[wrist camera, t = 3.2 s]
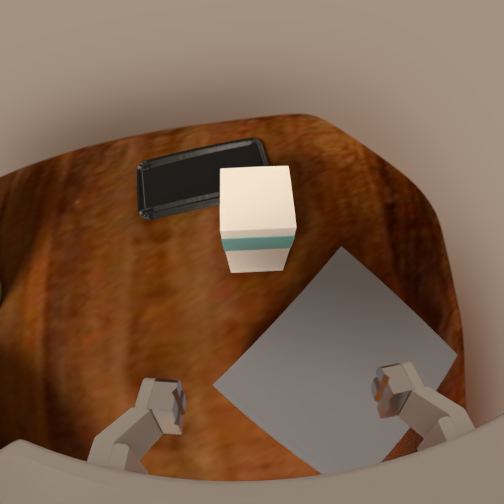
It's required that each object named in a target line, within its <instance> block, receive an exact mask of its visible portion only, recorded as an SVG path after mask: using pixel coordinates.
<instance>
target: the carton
mask: <svg viewBox="0 0 504 504" xmlns="http://www.w3.org/2000/svg"><path fill="white" fill-rule="evenodd" d="M296 228H297V226H296V218H295V209H294V201H293V193H292V186H291V178H290V171H289V166H261V167H238V168H221V169H220V233H221V240H222V244H223V248H224V251H225V252H226V256H227V259H228V263H229V267H230V271H231V273H239V272H261V271H280V270H283V269H284V266H285V262H286V259H287V256H288V253H289V250H290V248H291V247H292V244H293V241H294V238H295V232H296Z"/></svg>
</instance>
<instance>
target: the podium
mask: <svg viewBox="0 0 504 504" xmlns="http://www.w3.org/2000/svg"><path fill="white" fill-rule="evenodd" d="M456 357H457V354H456V353H455V352H454V351H453V350H452V349H451V348H450V347H449V346H448V345H447V344H446V343H445V342H444V341H443V340H442V339H441V338H440V337H439V336H438V335H437V334H436V333H435V332H434V331H433V330H432V329H431V328H430V327H429V326H428V325H427V324H426V323H425V322H424V321H423V320H422V319H421V318H420V317H419V316H418V315H417V314H416V313H415V312H414V311H413V310H412V309H411V308H410V307H409V306H407V305H406V304H405V303H404V302H403V301H402V300H401V299H400V298H399V297H398V296H397V295H396V294H395V293H394V292H393V291H391V290H390V289H389V288H388V287H387V286H386V285H385V284H384V283H383V282H382V281H380V280H379V279H378V278H377V277H376V276H375V275H374V274H373V273H372V272H370V271H369V270H368V269H367V268H366V267H365V266H364V265H363V264H361V263H360V262H359V261H358V260H357V259H356V258H355V257H353V256H352V255H351V254H350V253H349V252H348V251H347V250H345V249H344V248H343V247H342V246H341V247H340V248H339V249H338V250H337V252H336V253H335V254H334V255H333V256H332V258H331V259H330V260H329V261H328V262H327V263H326V265H325V266H324V267H323V268H322V269H321V270H320V272H319V273H318V274H317V275H316V276H315V277H314V278H313V280H312V281H311V282H310V283H309V284H308V285H307V286H306V288H305V289H304V290H303V291H302V292H301V293H300V294H299V295H298V296H297V298H296V299H295V300H294V301H293V302H292V303H291V304H290V305H289V306H288V308H287V309H286V310H285V311H284V312H283V313H282V314H281V315H280V316H279V317H278V318H277V319H276V321H275V322H274V323H273V324H272V325H271V326H270V327H269V328H268V329H267V330H266V331H265V332H264V333H263V334H262V335H261V336H260V338H259V339H258V340H257V341H256V342H255V343H254V344H253V345H252V346H251V347H250V348H249V349H248V350H247V351H246V352H245V353H244V354H243V355H242V356H241V357H240V358H239V359H238V360H237V361H236V362H235V363H234V364H233V365H232V366H231V367H230V368H229V369H228V370H227V371H226V372H225V373H224V374H223V375H222V376H221V377H220V378H219V379H218V380H217V381H216V382H215V383H214V384H213V386H214V387H215V388H216V389H217V390H218V391H220V392H221V393H222V394H223V395H224V396H225V397H226V398H227V399H228V400H229V401H230V402H232V403H233V404H234V405H235V406H236V407H237V408H238V409H239V410H241V411H242V412H243V413H244V414H245V415H246V416H248V417H249V418H250V419H251V420H252V421H253V422H255V423H256V424H257V425H258V426H259V427H261V428H262V429H263V430H264V431H265V432H267V433H268V434H269V435H270V436H272V437H273V438H274V439H275V440H277V441H278V442H279V443H281V444H282V445H283V446H284V447H286V448H287V449H288V450H290V451H291V452H292V453H294V454H295V455H296V456H298V457H299V458H300V459H302V460H303V461H305V462H306V463H307V464H309V465H310V466H312V467H313V468H314V469H316V470H317V471H319V472H320V473H322V474H323V475H324V474H330V473H336V472H341V471H347V470H352V469H356V468H361V467H365V466H370V465H374V464H378V463H381V462H382V460H383V459H384V458H385V457H386V456H387V455H388V454H389V452H390V451H391V450H392V449H393V448H394V447H395V445H396V444H397V443H398V442H399V441H400V439H401V438H402V437H403V436H404V434H405V433H406V432H407V431H408V429H409V428H410V426H409V425H408V424H406V423H405V422H404V421H403V420H402V419H401V418H399V417H398V415H397V416H393V417H388V418H383V419H381V418H380V415H379V412H378V410H377V405H378V402H377V401H375V400H374V399H373V396H372V392H371V385H372V381H373V379H374V378H376V377H377V375H376V370H377V369H378V368H379V367H381V366H386V365H391V364H396V363H402V362H407V361H410V362H411V363H412V364H413V366H414V368H415V370H416V372H417V373H418V375H419V377H420V379H421V381H422V382H423V384H424V386H425V387H427V386H428V387H430V388H431V389H433V390H434V391H436V390H437V388H438V387H439V385H440V384H441V382H442V381H443V379H444V377H445V376H446V374H447V372H448V371H449V369H450V367H451V366H452V364H453V362H454V360H455V359H456Z"/></svg>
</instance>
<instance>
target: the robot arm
mask: <svg viewBox="0 0 504 504" xmlns="http://www.w3.org/2000/svg"><path fill="white" fill-rule="evenodd" d="M376 375H377V377H376V378H374V379H373V381H372V385H371V392H372V396H373V399H374V400H375V401H377V402H378V405H377V410H378V412H379V415H380V418H381V419H383V418H388V417H393V416H397V415H398V417H399V418H401V419H402V420H403V421H404V422H405V423H406V424H408V425H409V426H410V427H411V428H412V429H413V430H415V431H416V432H417V433H418V434H419V435H420V436H422V437H423V438H424V440H423V441H422V442H421V443H420V445H419V446H418V448H417V450H418V452H415V453H412V454H409V455H406V456H403V457H399V458H396V459H393V460H389V461H385V462H382V463H378V464H374V465H370V466H365V467H361V468H356V469H352V470H347V471H341V472H336V473H330V474H324V475H317V476H310V477H301V478H292V479H281V480H265V481H206V480H190V479H179V478H170V477H161V476H154V475H147V474H148V471H147V469H146V468H145V467H144V466H143V465H142V463H141V462H140V461H139V460H140V459H141V458H142V457H143V456H144V454H145V453H146V452H147V451H148V450H149V449H150V448H151V447H152V446H153V444H154V443H155V442H156V441H157V440H158V439H159V438H160V436H161V435H162V433H169V434H182V431H183V424H184V420H183V418H182V415H183V414H185V411H186V398H185V393H184V392H183V391H182V390H181V389H182V384H181V381H179V380H165V379H152V378H144V380H143V381H142V384H141V387H140V391H139V394H138V397H137V401H136V404H135V407H134V408H130V409H129V410H128V411H127V412H125V413H124V414H123V415H122V416H120V417H119V418H118V419H117V420H116V421H114V422H113V423H112V424H111V425H109V426H108V427H107V428H106V429H105V430H103V431H102V432H101V433H100V434H98V435H97V436H96V437H95V438H94V441H93V444H92V447H91V450H90V453H89V456H88V459H87V461H83V460H80V459H76V458H73V457H70V456H67V455H63V454H60V453H57V452H55V451H52V450H49V449H46V448H43V447H41V446H38V445H36V444H33V443H31V442H28V441H26V440H22V439H20V440H17V441H14V442H12V443H10V444H9V445H7V446H5V447H3V448H2V449H0V504H504V414H502V415H500V416H499V417H497V418H495V419H493V420H491V421H489V422H487V423H485V424H483V425H481V426H479V427H477V428H475V427H474V425H473V424H472V422H471V420H470V418H469V416H468V414H467V412H466V410H465V409H464V408H463V407H461V406H459V405H458V404H456V403H454V402H453V401H451V400H449V399H448V398H446V397H444V396H443V395H441V394H439V393H438V392H436V391H434V390H433V389H431V388H430V387H428V386H427V387H425V386H424V384H423V382H422V381H421V379H420V377H419V375H418V373H417V372H416V370H415V368H414V366H413V364H412V363H411V362H410V361H407V362H402V363H396V364H391V365H386V366H381V367H379V368H378V369H377V370H376Z"/></svg>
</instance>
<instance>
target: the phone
mask: <svg viewBox="0 0 504 504" xmlns="http://www.w3.org/2000/svg"><path fill="white" fill-rule="evenodd" d="M261 166H269V164H268V160H267V157H266V154H265V151H264V148H263V145H262V143H261V141H260V140H259V139H256V138H247V139H241V140H236V141H230V142H225V143H220V144H215V145H210V146H205V147H200V148H196V149H191V150H187V151H183V152H178V153H174V154H170V155H166V156H162V157H158V158H154V159H151V160H147V161H144V162H142V163H141V164H140V165H139V166H138V168H137V195H138V212H139V214H140V215H141V217H142V218H143V219H145V220H153V219H157V218H161V217H165V216H170V215H174V214H178V213H184V212H187V211H192V210H196V209H201V208H205V207H210V206H214V205H219V204H220V169H221V168H238V167H261Z"/></svg>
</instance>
